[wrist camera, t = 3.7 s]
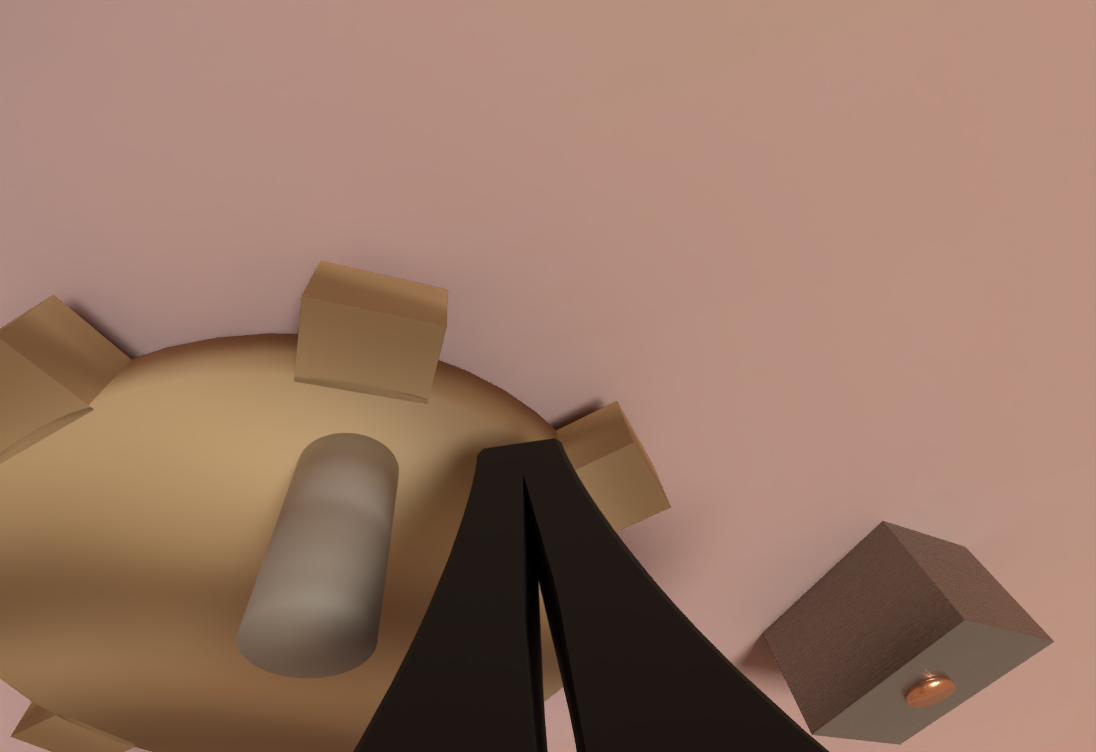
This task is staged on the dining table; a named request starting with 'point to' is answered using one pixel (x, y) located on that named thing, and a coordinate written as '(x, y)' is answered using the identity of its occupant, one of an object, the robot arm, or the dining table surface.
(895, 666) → the link block
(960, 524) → the dining table surface
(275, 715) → the sprocket wheel
